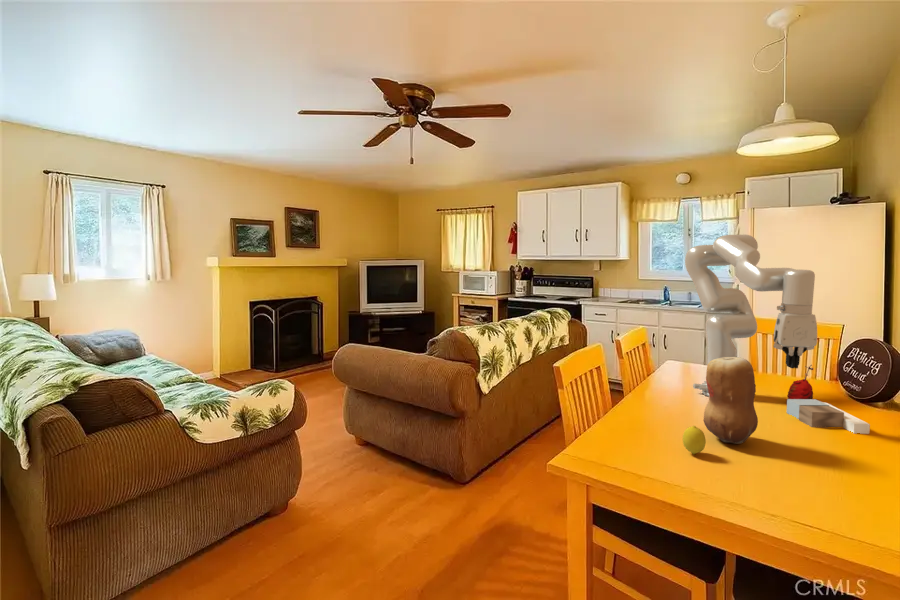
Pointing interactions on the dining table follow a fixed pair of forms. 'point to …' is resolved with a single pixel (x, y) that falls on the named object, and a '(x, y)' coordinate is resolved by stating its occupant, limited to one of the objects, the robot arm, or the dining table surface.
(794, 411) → the slate block
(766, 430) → the dining table surface
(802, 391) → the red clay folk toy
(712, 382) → the butternut squash
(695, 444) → the lemon
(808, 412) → the walnut block
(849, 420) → the stop rail
